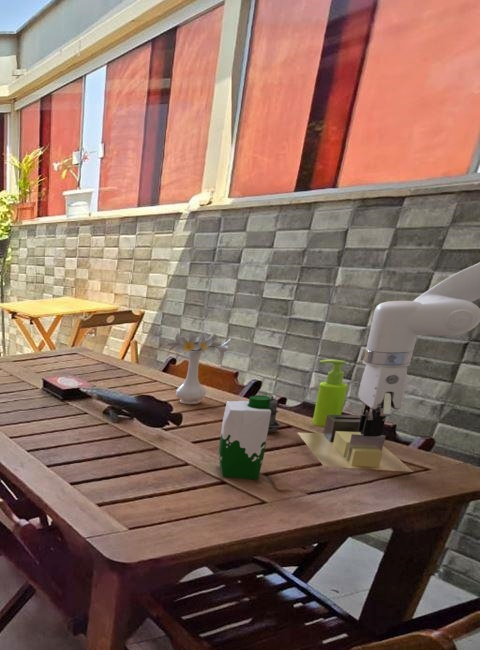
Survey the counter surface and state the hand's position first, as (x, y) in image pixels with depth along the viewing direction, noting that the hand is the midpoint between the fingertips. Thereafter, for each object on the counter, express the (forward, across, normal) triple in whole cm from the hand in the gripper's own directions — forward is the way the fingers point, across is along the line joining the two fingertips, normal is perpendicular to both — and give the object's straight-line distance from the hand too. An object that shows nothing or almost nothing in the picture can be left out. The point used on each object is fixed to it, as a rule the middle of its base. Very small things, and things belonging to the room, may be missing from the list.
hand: (369, 432), depth 117 cm
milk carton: (+9, -8, +26) cm, 29 cm away
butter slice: (+8, -1, 0) cm, 8 cm away
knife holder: (+8, +16, -2) cm, 18 cm away
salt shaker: (+9, +20, +15) cm, 27 cm away
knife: (+8, 0, 0) cm, 8 cm away
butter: (+8, +8, 0) cm, 11 cm away
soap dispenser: (+9, +30, 0) cm, 31 cm away
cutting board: (+9, +8, 0) cm, 12 cm away
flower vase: (+9, +52, +31) cm, 62 cm away
